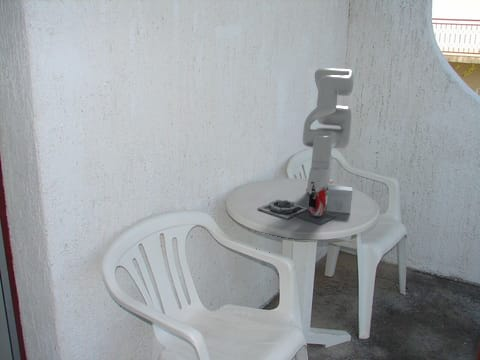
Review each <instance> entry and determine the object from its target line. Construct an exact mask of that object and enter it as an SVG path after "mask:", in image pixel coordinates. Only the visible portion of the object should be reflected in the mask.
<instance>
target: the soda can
mask: <svg viewBox="0 0 480 360" xmlns="http://www.w3.org/2000/svg"><path fill="white" fill-rule="evenodd" d="M313 191H315V190H313ZM312 194H313V195H314V192H312ZM327 195H328V194H327V191H326V187H325V188H324V189H321V190H320V192H318V193H317V195H316V198H315V199H316V208H312V207H309V206H308V207H307V208H308V212H309V213H310V214H311V215H313V216H322V215H323V214H324V213H326V212H325V211H326V208H327Z"/></svg>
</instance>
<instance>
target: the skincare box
mask: <svg viewBox="0 0 480 360" xmlns="http://www.w3.org/2000/svg"><path fill="white" fill-rule="evenodd" d="M352 199H353V187H351V186H339V185H332V184H330V185H329V187H328V194H327V196H326V207H325V211H326V212H328V211H329V212H330V213H340V214H341V213H342V214H351V211H352V210H351V209H352ZM329 212H328V213H329Z"/></svg>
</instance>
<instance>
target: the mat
mask: <svg viewBox="0 0 480 360" xmlns="http://www.w3.org/2000/svg"><path fill="white" fill-rule="evenodd" d="M295 217H296V218H297V219H301V220H303V221H306V222H309V223H313V224H315V225H319V226H322V225H324V224H326V223H328V222H330V221H333V220H335V219H336V217H337V216H336V215H334V214H330V213H326V212H325V213H324V214H323V215H322V216H313V215H311V214H310V213H309V212H308V211H306V212H304V213H301V214H299V215H297V216H295Z"/></svg>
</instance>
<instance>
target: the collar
mask: <svg viewBox="0 0 480 360" xmlns="http://www.w3.org/2000/svg"><path fill="white" fill-rule="evenodd" d="M285 207H286V208H285ZM257 210H258V211H260V212H263V213H266V214H270V215H272V216H275V217H277V218H282V219H284V220H290V219H292V218H294V217H296V216H297V215H300V214H302V213H304V212H306V211H308V207H304V206H302V205H298V204H297V202H294V201H291V200H288V199H275V200H272V201H270V202H269V203H266V204H265V205H262V206H259V207H257Z"/></svg>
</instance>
